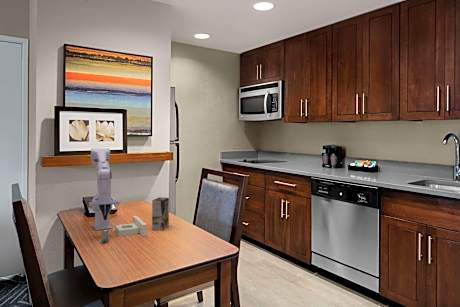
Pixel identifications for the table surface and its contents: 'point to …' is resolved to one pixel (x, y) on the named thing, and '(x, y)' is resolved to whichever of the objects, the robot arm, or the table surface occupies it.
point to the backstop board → (140, 225)
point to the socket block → (126, 229)
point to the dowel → (105, 236)
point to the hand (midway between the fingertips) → (105, 219)
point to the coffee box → (160, 213)
